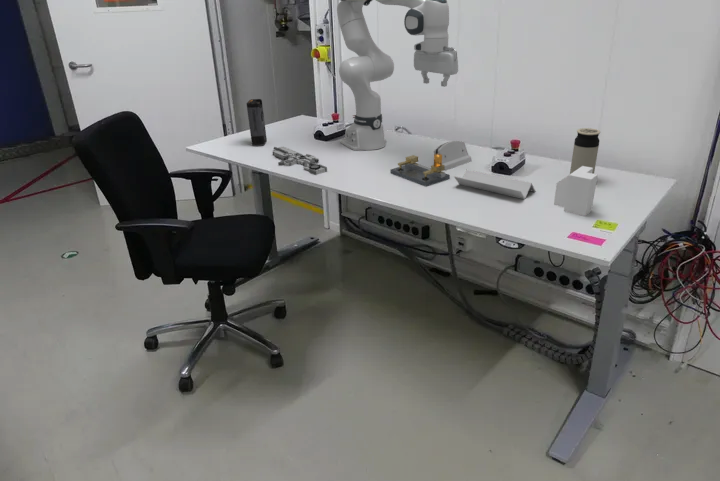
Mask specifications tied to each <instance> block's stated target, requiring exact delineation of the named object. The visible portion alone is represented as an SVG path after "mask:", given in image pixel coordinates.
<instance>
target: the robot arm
mask: <svg viewBox="0 0 720 481" xmlns="http://www.w3.org/2000/svg"><path fill="white" fill-rule="evenodd" d="M371 2H373V0H340V2H338V4H337V6H336V12H337V20H338V24H339V27H340V31H341V34H342V35H341V36H342V37H343V40H344V44H345V46H346V47H347V49H348V50H349V51H351V52H353V53H355V54H356V55H357V56H353V57H349V58H347V59H344V60H342V61H341V63H340V65H339V69H338V73H339V78H340V80H341V81H342V82H343V83H344V84H345V85H347V86H348V87H349V89H350V90H351V91H352V94H353V98H354V103H355V104H354V105H355V114H354V115H352V119H353V123H352V124H351V125H350V126H349V127H348V128H347V129H346V130H345V133H344V134H345V136H344V138H342V139H341V140H340V141H339V142H340V144H342V145H343V146H344V147H347V148H349V149H350V150H353V151H361V150H362V151H371V150H378V149H381V148H384V147H385V146H386V143H387V139H385V131H384V130H385V129H384V125H383V124H382V123H383V114H382V107H381V106H382V102H381V96H380V95H379V93H377V92H376V91H374V90H372V88H371V83H373V82H379V81H384V80H387V79H388V78H390V77H391V76H392V75H393V74H394V71H395V62H394V60H393V58H392V57H391V56H390V55H389V54H387V53H385V52H384V51H383V50H382V49H380V48H379V47H378V45H377V44H376V43H375V41H374V40H373V37H372V36H371V32H370V31H369V27H368V24H367V21H366V18H365V16H364V12H363V6H366V7H367V6H369V5H370V3H371ZM375 2H378V3H379V4H381V5H387V6H401V7H406V8H409V10H408V11H407V12H406V13H405V16H404V20H403V22H404V24H403V26H404V28H405V30H406V32H407V33H408V34H409V35H411V36H423V41H420V42H417V43H416V44H414V46H413V50H414V53H413V67H414V70H415V71H420V72H421V73H420V74H421V77H422V79H423V80H422V82H423V84H426V85H428V84H430V78H429V77H428V76H429V75H428V73H433V74H440V75H441V74H442V77H443V80H441V82H440V86H441V87H443V88H444V87H448V82H449V79H450V77H451V76H453V75H457V73H458V72H459V60H458V51H457V50H456V49H455V47H449V32H448V31H449V30H448V29H449V24H450V7H449V3H448V1H447V0H375Z"/></svg>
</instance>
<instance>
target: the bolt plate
mask: <svg viewBox="0 0 720 481" xmlns="http://www.w3.org/2000/svg"><path fill="white" fill-rule="evenodd" d="M397 165H398V167H394V168H391V169H390V170H389V171H390V174H392V175H394V176H397V177H401V178H402V179H405V180H407V181H410V182H414V183H415V184H419V185H420V186H424V187H429V186H432V185H434V184H438V183H441V182H443V181H446V180H450V178H451V175H450V174H449V173H446V172H444V171H441V172H438V173H436V172H435V173H432V174H428V175H427V178H426V179H425V175H424V174H423V172H425V171H428V170H431V166H430V167H429V166H426V165H424V164H421V163H419V156H417V155H415V154H412V155H409V156H406V157H405V160H403V161H401V162H398V163H397Z"/></svg>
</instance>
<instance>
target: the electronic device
mask: <svg viewBox="0 0 720 481" xmlns="http://www.w3.org/2000/svg"><path fill="white" fill-rule="evenodd" d="M263 107H264V106H263V99H261V98H253V99H249V100H248V101H247V102H246V110H247V118H248V126H249V133H250V139H251V146H252V147H263V146H265V144H266V143H267V139H268V138H267V133H266V131H267V130H266V124H265V123H266V122H265V115H264V108H263Z"/></svg>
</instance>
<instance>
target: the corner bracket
mask: <svg viewBox="0 0 720 481" xmlns="http://www.w3.org/2000/svg"><path fill="white" fill-rule="evenodd" d="M592 172H593V168H591V167H586V166H582V167H580V168H579V169H577V170H576V171H574V172H573V173H571V174H570V173H569V174H568V175H567V176H566V177H564V178H562V179H561V180H559V181H558V182H557V183H556V184H555V185H556V186H555V192H554V193H555V194H554V201H553V205H554V206H558V207H562V208H563V212H565V213H566V212H567V213H569V214H574V215H577V216H583V217H586V216H587V215H589V213H591V212H592V211H593V210H592V209H593V203H594V199H595V192H596V187H597V182H598V176H599V175H598V173H597V174H596V173H594V174H592Z"/></svg>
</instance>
